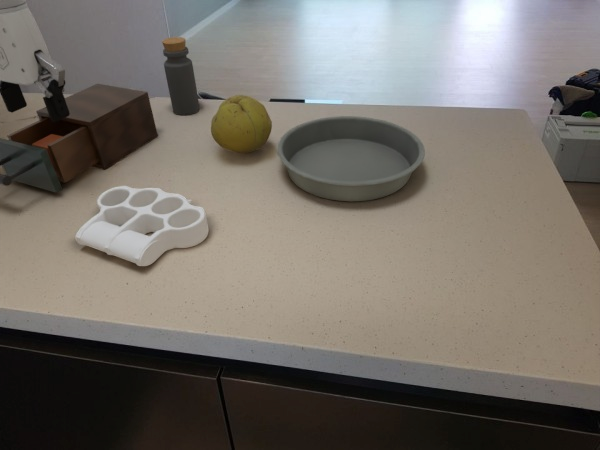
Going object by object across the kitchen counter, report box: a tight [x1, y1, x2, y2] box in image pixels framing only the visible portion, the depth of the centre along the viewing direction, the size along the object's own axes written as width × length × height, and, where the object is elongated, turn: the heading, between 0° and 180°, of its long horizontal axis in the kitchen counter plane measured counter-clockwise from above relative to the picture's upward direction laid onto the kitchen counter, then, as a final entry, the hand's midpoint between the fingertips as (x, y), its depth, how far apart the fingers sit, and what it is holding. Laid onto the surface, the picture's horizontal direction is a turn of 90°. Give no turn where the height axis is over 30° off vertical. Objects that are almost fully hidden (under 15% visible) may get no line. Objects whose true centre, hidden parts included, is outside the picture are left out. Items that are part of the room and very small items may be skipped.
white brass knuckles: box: [74, 185, 210, 267], centre depth 65 cm, size 3×18×15 cm
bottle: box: [161, 36, 200, 116], centre depth 97 cm, size 6×6×15 cm
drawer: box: [0, 117, 99, 194], centre depth 76 cm, size 19×11×7 cm, turn 155°
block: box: [32, 134, 63, 170], centre depth 78 cm, size 4×4×4 cm
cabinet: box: [36, 83, 159, 171], centre depth 85 cm, size 15×13×9 cm
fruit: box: [210, 94, 273, 154], centre depth 83 cm, size 11×12×10 cm
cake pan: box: [276, 115, 426, 202], centre depth 78 cm, size 25×25×4 cm
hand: (39, 113), depth 74 cm, fingers open, 9 cm apart
